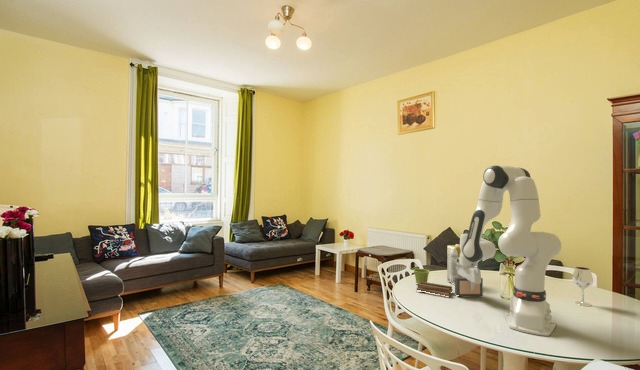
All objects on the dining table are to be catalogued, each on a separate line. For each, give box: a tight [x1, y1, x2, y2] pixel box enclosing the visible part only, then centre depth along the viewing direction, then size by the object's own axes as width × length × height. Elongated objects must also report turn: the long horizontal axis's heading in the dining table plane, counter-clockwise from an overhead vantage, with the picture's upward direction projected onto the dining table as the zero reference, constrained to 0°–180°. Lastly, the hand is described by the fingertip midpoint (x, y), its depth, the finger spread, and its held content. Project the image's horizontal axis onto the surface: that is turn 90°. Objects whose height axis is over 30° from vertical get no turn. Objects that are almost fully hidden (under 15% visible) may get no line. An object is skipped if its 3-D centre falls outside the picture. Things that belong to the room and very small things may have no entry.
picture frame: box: [454, 277, 484, 296], centre depth 175 cm, size 2×14×10 cm, turn 91°
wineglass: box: [572, 266, 594, 307], centre depth 164 cm, size 8×8×18 cm
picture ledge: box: [416, 281, 453, 297], centre depth 181 cm, size 10×17×4 cm, turn 56°
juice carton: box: [446, 243, 462, 285], centre depth 200 cm, size 9×8×24 cm
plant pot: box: [413, 268, 430, 284], centre depth 196 cm, size 9×9×9 cm
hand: (468, 287), depth 175 cm, fingers open, 6 cm apart
